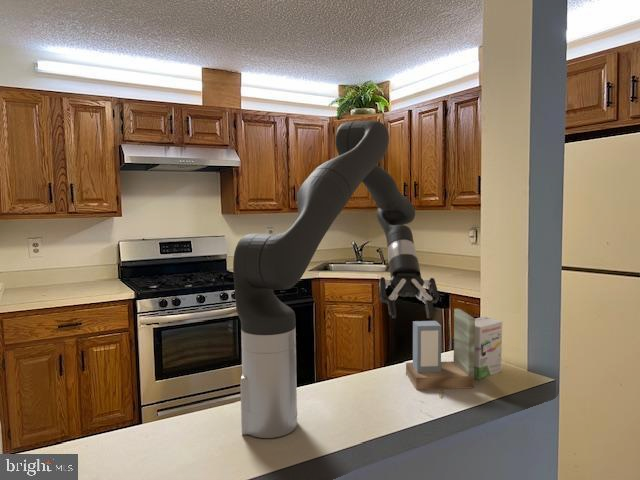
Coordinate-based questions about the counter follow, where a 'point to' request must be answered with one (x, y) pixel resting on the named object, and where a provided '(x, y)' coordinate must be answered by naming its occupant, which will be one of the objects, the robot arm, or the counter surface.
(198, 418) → the counter surface
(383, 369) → the counter surface
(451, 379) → the bookend
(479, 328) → the ink box
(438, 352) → the grey block
